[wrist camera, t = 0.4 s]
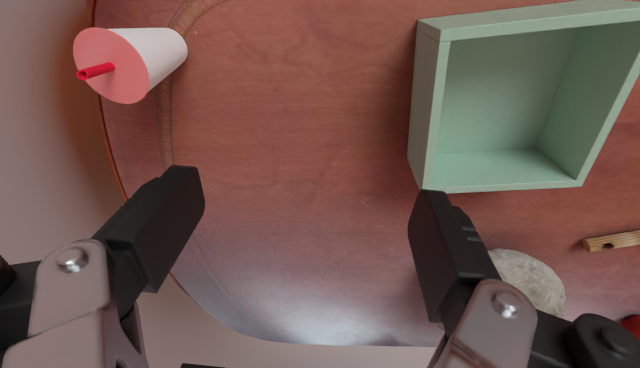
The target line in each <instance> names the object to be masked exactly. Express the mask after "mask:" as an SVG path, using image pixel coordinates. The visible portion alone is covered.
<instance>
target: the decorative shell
mask: <svg viewBox="0 0 640 368" xmlns="http://www.w3.org/2000/svg"><path fill="white" fill-rule="evenodd" d="M487 252H488V254H489V256H490V257H491V259H492V261H493V263H494V265H495V267H496V269H497V271H498V273H499V275H500V276H501V278H502V280H503V281H504V282H507V283H509V284H511V285H513V286H514V287H516V288H518V289H519V290H520V291H521V292H523V293H524V294H525V295H526V296H527V297H528V298H529V300H530V301H531V302H532V304H533V305H534V307H535V309H538V310H540V311H543V312H546V313H548V314H551V315H554V316H557V317H559V318H561V317H562V315H563V312H564V305H565V297H566V293H565V291H564V287H563V285H562V282H561V280H560V279H559V277H558V276H557V275H556V274H555V272H554V271H553V270H552V269H551V268H550V267H548V266H547V265H546V264H544V263H543V262H541V261H539V260H537V259H535V258H533V257H531V256H529V255H527V254H525V253H522V252H519V251H515V250H508V249H502V248H497V249H493V250H487ZM437 325H438V327H439V328H441V329H443V330H444V326H443V323H437ZM444 331H445V330H444Z"/></svg>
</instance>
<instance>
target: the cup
mask: <svg viewBox="0 0 640 368" xmlns="http://www.w3.org/2000/svg"><path fill="white" fill-rule="evenodd" d="M187 54H188V50H187V46H186V43H185V41H184V39H183V38H182V37H181V35H180V34H178V33H177V32H176V31H174V30H172V29H170V28H124V29H104V28H98V27H93V28H88V29H85V30H83V31H82V32H80V33H79V34H78V35H77V37H76V39H75V41H74V45H73V55H74V60H75V63H76V66H77V68H78V70H79V71H78V72H77V74H76V75H77V77H78V79H80V80H85V81H86V82H87V83H88V84H89V85H90V86H91V87H92V88H93V89H94V90H95V91H96V92H98V93H99V94H100V95H102V96H103V97H105V98H107V99H109V100H111V101H114V102H117V103H122V104H132V103H136V102H138V101H140V100H141V99H143V98H144V96H145V95H146V93H147V92H148V91H149V90H151V89H152V88H153V87H154V86H156V85H157V84H158V83H159V82H161V81H162V80H163V79H164V78H165V77H167V76H168V75H169V74H170V73H172V72H173V71H174V70H175V69H176V68H178V67H179V66H180V65H181V64H182V63H183V62H184V61H185V60H186V58H187Z"/></svg>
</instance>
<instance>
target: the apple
mask: <svg viewBox="0 0 640 368" xmlns="http://www.w3.org/2000/svg"><path fill="white" fill-rule="evenodd" d="M621 326H622V327H624V328H625V329H627V330H628V331H629V332H631V333H632V334H633V335H634V336H635V337H636V338H637V339H638V340H639V341H640V315H634V316H632V317H630V318H627V319H625V320H623V321H622V324H621Z"/></svg>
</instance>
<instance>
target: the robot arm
mask: <svg viewBox="0 0 640 368" xmlns="http://www.w3.org/2000/svg"><path fill="white" fill-rule="evenodd" d="M204 209H205V199H204V194H203V190H202V186H201V181H200V177H199V172H198V170H197V168H196V167H192V166H181V165H172V166H170V167H169V168H168V169H167V170H166V172H165V173H164V174H163V175H162V176H161V177H156V178H154V179H152V180H151V181H149V182H147V183H145V184H144V185H142V186H141V187H140V188H139V189H138V190H137V191H136V192H135V193H134V194H133V195H132V198H129V199H128V200H127V201H126V203H125V204H124V206H122V207H121V208H120V209H119V210H118V211H117V212H116V213H115V214H114V215H113V216H112V217H111V218H110V219H109V220H108V221H107V222H106V223H105V224H104V225H103V226H102V227H101V228H100V229H99V230H98V231H97V232H96V233H95V234H94V235H93V237H92V238H91V239H83V240H77V241H73V242H71V243H68V244H65V245H63V246H61V247H59V248H57V249H56V250H54V251H53V252H51V253H50V254H49V255H47V256H46V257H45V258H44V259H43V260H41V261H34V262H27V263H21V264H14V265H9V264H8V263H7V262H6V261H5V260H4V258H2V256H1V255H0V368H149V365H148V362H147V358H146V353H145V346H144V340H143V334H142V328H141V322H140V315H139V309H138V304H137V302H136V300H137V298H138V296H139V295H140V293H141V292H149V293H157V292H158V290H159V288H160V287H161V285H162V283H163V282H164V280H165V278H166V277H167V275H168V273H169V271H170V270H171V268H172V266H173V265H174V263H175V261H176V260H177V258H178V256H179V255H180V253H181V251H182V250H183V248H184V246H185V245H186V243H187V241H188V239H189V238H190V236H191V234H192V233H193V231H194V229H195V228H196V226H197V224H198V223H199V221H200V219H201V218H202V216H203V213H204ZM475 230H476V229H475V227H474V225H473V223H472V221H471V220H470V218H469V217H468V216H467V215H466V214H465V213H464V212H463V211H462V210H461V209H460V208H459V207H456V206H452V205H451V203H450V201H449V199H448V197H447V195H446V193H445V192H444V191H438V190H428V189H421V190H420V191H419V193H418V196H417V199H416V202H415V204H414V207H413V210H412V213H411V216H410V219H409V222H408V239H409V243H410V247H411V251H412V255H413V259H414V263H415V267H416V271H417V275H418V279H419V283H420V287H421V291H422V294H423V298H424V302H425V306H426V310H427V314H428V318H429V322H434V323H443V326H444V330H445V334H444V335H443V337H442V339H441V341H440V343H439V345H438V347H437V349H436V351H435V353H434V354H433V357H432V358H431V360H430V362H429V365H428V366H427V368H640V341H639V340H638V339H637V338H636V337H635V336H634V335H633V334H632V333H631V332H629V331H628V330H627V329H625V328H624V327H622V326H621V325H619V324H618V323H616V322H614V321H612V320H610V319H608V318H606V317H603V316H601V315H597V314H591V313H586V314H582V315H580V316H579V317H578V318H577V319H575V320H574V321H573V322H570V321H567V320H565V319H562V318H559V317H557V316H554V315H551V314H548V313H546V312H543V311H540V310H538V309H535V307H534V305H533V304H532V302H531V301H530V300H529V298H528V297H527V296H526V295H525V294H524V293H523V292H521V291H520V290H519V289H518V288H516V287H514V286H513V285H511V284H509V283H507V282H504V281H503V280H502V278H501V276H500V275H499V273H498V271H497V269H496V267H495V265H494V263H493V261H492V259H491V257H490V256H489V254H488V252H487V250H486V248H485V246H484V244H483V242H481V239H480V237H479V235H478V233H477V232H476V231H475ZM181 368H224V367H214V366H204V365H194V364H185V363H183V364H182V366H181Z"/></svg>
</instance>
